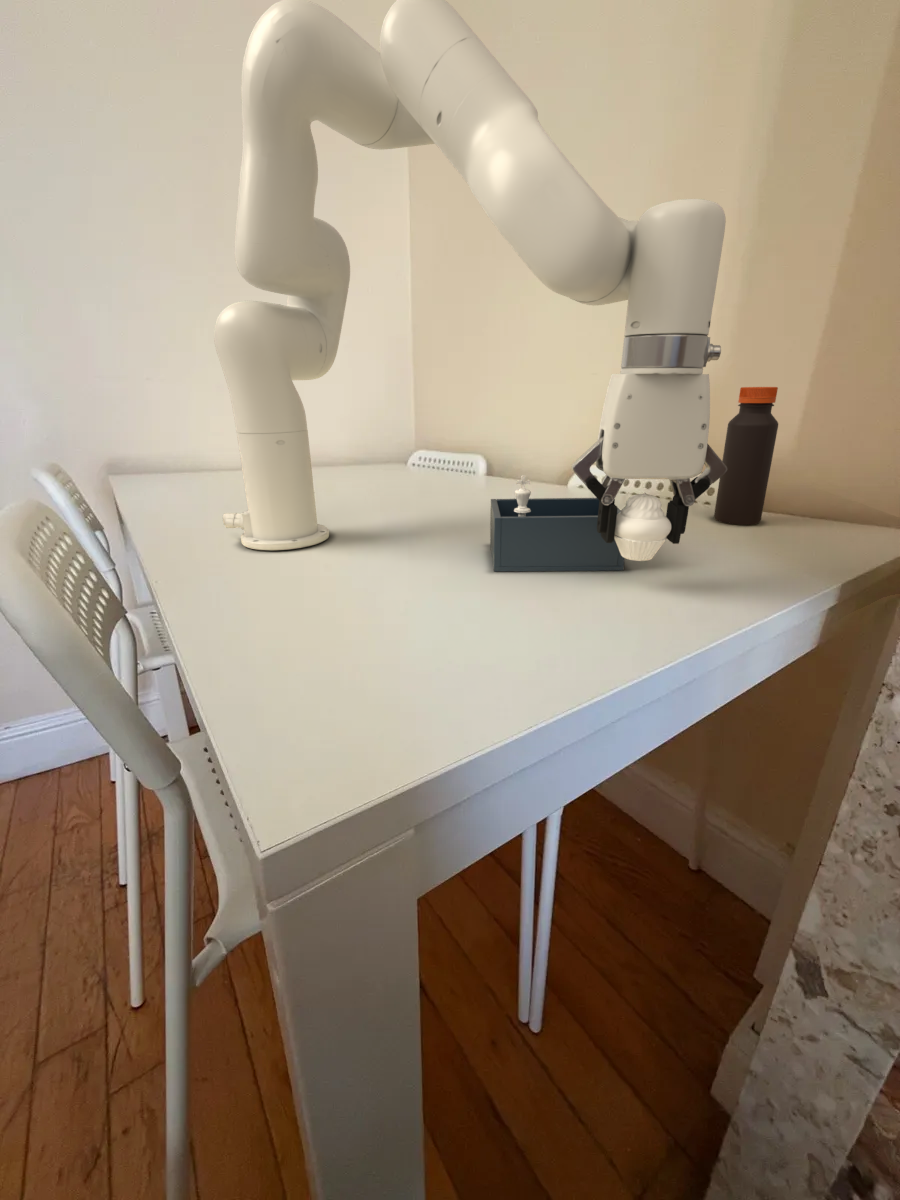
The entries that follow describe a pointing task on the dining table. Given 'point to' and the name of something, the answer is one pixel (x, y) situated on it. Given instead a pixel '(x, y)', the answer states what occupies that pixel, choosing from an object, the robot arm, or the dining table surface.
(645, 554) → the muffin
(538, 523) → the bin
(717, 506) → the bottle
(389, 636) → the dining table surface
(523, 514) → the chess piece
